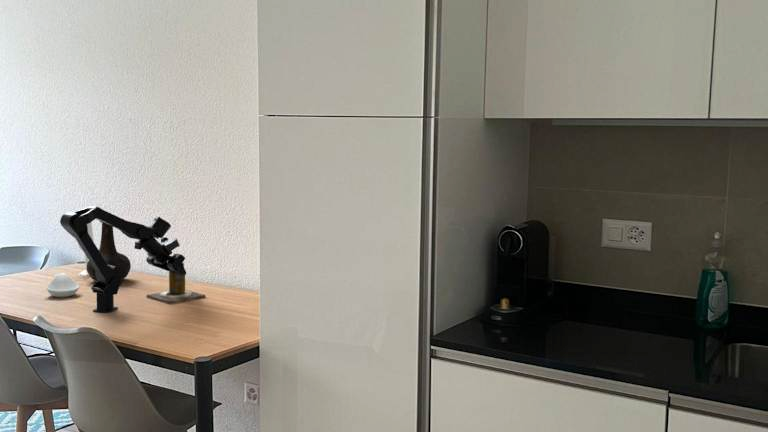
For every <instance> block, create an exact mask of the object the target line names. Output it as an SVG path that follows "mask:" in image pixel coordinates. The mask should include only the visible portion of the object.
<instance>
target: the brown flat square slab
mask: <svg viewBox="0 0 768 432" xmlns="http://www.w3.org/2000/svg"><path fill="white" fill-rule="evenodd" d="M168 291H169V290H166V291H161V292H156V293H150V294H146V298H147V299H151V300H154V301H157V302H161V303H165V304H168V305H172V304H177V303H178V304H179V303H182V302H188V301H194V300H199V299H203V298H206V294H202V293H199V292H196V291H192V290H189V289H188V290H187V289H185V291H187V293H186V294H185V296H166V294H167V293H168Z"/></svg>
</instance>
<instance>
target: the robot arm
mask: <svg viewBox="0 0 768 432" xmlns="http://www.w3.org/2000/svg"><path fill="white" fill-rule="evenodd" d="M95 220H97V221H99V222H100V221H102V222H104V223H106V224H108V225H111V226H113V228H115V229H117V230H119V231H120V232H121V233H122V234H124V235H125V236H127V237H128V238H129V239H134V240H138V241H135V242H134V247H133V248H134V249H135V250H142V249H143V251H145V252H146V253H147V254H146V255H147V257H146V262H147V264H149V265H150V266H152V267H155V268H159V269H161V270H164V271H166V272H169V270H170V269H171V270H172V271H175V272H178V273H180V274H183V275H185V276H186V275H187V271H186V269H185V266H183V263H184V261H185V260H186V257H185V256H184V255H183V254H181V253H173V250H175V249H177V248H179V247H180V246H181V245H180V243H179V241H178V238H176V237H166V236H165V235H166V234H167V233H168V231H169V230H170V228H171V227H172V225H171V224H170V222H168V221H167V220H166V219H163V218H162V217H161V216H155V217H154V219H153V221H152V222H151V223H150V224H149V225H148V226H147V225H144V224H141V223H138V222H133V221H128V220H125V219H124V218H121V217H119V216H117V215H115V214H113V213H111V212H109V211H106V210H104V209H103V208H101V207H100V206H93V205H91V206H88V207H86V208H83V209H79V210H76V211H73V212H70V211H69V212H65V213H63V214H62V215H61V217H60V220H59V223H60V226H61V227H62V228H63V229H64V230H65V231H66V232H67V233H68V234H70V235H71V236H72V237H73V238H74V239H75V241H76V242H77V245H78V244H79V245H80V247H81V248H82V250H83V251H84V252H83V251H82V250H81V251H82V252H83V253H84V255H86V256H87V258H88V261H90V263H91V264H92V266H93V267H94V269H95V274H96V279H97V281H95V283H94V284H93V285H92V286H91V291H92V293H94V294H96V308H95V309H93V310H92V312H95V313H111V312H114V311H115V310H118V306H115V303H114V302H115V300H114V299H115V298H114V297H115V295H117V294H118V292H119V289H120V286H121V285H122V282H123V280H122V279H121V277H120V276H122V275H121V274H120V273H119V272H118V269H117V268H116V267H114V266H110V265H108V264H107V263H106V261H105V260H104V258H103V256H102V255H101V253H100V252H99V248H98V247H97V244H96V243H95V241H94V242H93V240H92V239H91V237H90V235H89V234H88V226H87V224H89V223H92V222H93V221H95ZM102 222H101V223H102ZM157 239H160V241H158V240H157ZM172 254H173V255H172Z"/></svg>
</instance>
